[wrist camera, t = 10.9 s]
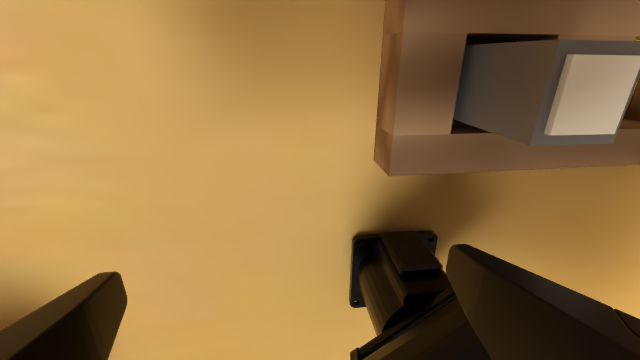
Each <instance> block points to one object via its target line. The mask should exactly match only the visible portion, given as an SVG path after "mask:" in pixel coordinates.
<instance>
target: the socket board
mask: <svg viewBox="0 0 640 360" xmlns="http://www.w3.org/2000/svg"><path fill="white" fill-rule="evenodd" d="M467 37H503V38H517V41H516V42H525V41H542V40H558V39H563V40H603V41H635V40H640V0H386V2H385V15H384V29H383V42H382V56H381V69H380V82H379V96H378V109H377V122H376V136H375V149H374V161H375V162H376V163H377V164H378V165H379V166H380V167H381V168H382V169H383V170H384V171H385V173H386V174H387V175H388V176H404V175H425V174H447V173H468V172H489V171H511V170H532V169H553V168H575V167H596V166H617V165H638V164H640V80H639V82H638V85H637V88H636V90H635V93H634V96H633V98H632V101H631V103H630V106H629V109H628V111H627V114H626V117H625V119H622V122H621V124H620V127H619V130H618V132H617V135H616V137H615V140H614V143H613V144H581V145H544V146H528V145H526V144H523V143H520V142H517V141H514V140H511V139H508V138H506V137H503V136H500V135H497V134H494V133H491V132H488V131H485V130H483V129H480V128H477V127H474V126H471V125H468V124H465V123H452V121H453V115H454V109H455V103H456V97H457V91H458V86H459V80H460V74H461V68H462V62H463V56H464V50H465V44H466V38H467Z"/></svg>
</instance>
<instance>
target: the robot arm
mask: <svg viewBox="0 0 640 360" xmlns="http://www.w3.org/2000/svg"><path fill="white" fill-rule="evenodd" d="M431 236H432V237H431ZM429 237H431V238H430V239H428V238H429ZM358 242H362V243H361V244H359V245H358V244H357V243H358ZM436 244H437V235H436V234H435V233H434V232H433V231H418V232H415V231H405V232H391V233H383V234H376V235H363V236H356V237H355V238H354V239H353V241H352V254H351V273H350V292H349V302H350V305H351V307H353V308H359V307H367V310H368V313H369V315H370V318H371V321H372V324H373V326H374V329H375V332H376V335H377V337H375V338H374V339H372V340H371V341H369V342H368V343H366V344H365V345H363V346H362V347H360V348H356V349H354V350H353V351H352V352H350V360H640V319H638V318H636V317H633V316H631V315H629V314H626V313H624V312H622V311H620V310H617V309H613V308H612V307H610V306H608V305H606V304H603V303H601V302H599V301H596V300H594V299H592V298H589V297H587V296H585V295H583V294H580V293H578V292H576V291H573V290H571V289H569V288H566V287H564V286H562V285H559V284H557V283H555V282H553V281H550V280H548V279H546V278H543V277H541V276H539V275H536V274H534V273H532V272H529V271H527V270H525V269H523V268H520V267H518V266H516V265H513V264H511V263H509V262H506V261H504V260H502V259H500V258H497V257H495V256H493V255H490V254H488V253H486V252H483V251H481V250H479V249H476V248H474V247H472V246H470V245H467V244H457V245H452V246H451V247H450V250H449V255H448V260H447V265H446V273H445V271H444V270H443V269H442V268H443V266H442V264H441V263H440V261H439V260H438V259H437V258H436V257H435V250H436ZM356 300H357V301H356ZM354 301H356V302H354ZM126 306H127V295H126V291H125V288H124V284H123V281H122V278H121V275H120V274H119V273H118V272H103V273H99V274H97V275H95V276H93V277H92V278H90V279H88V280H87V281H85V282H83V283H81V284H80V285H78V286H76V287H75V288H73V289H71V290H69V291H68V292H66V293H64V294H63V295H61V296H59V297H57V298H56V299H54V300H52V301H51V302H49V303H47V304H45V305H44V306H42V307H40V308H39V309H37V310H35V311H33V312H32V313H30V314H28V315H27V316H25V317H23V318H22V319H20V320H18V321H16V322H15V323H13V324H11V325H10V326H8V327H6V328H4V329H3V330H1V331H0V360H108V357H109V355H110V352H111V349H112V346H113V343H114V340H115V338H116V335H117V332H118V329H119V326H120V323H121V321H122V318H123V315H124V312H125V309H126Z"/></svg>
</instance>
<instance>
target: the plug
mask: <svg viewBox="0 0 640 360" xmlns="http://www.w3.org/2000/svg"><path fill="white" fill-rule="evenodd" d="M639 75H640V41H603V40H563V39H558V40H542V41H525V42H509V43H493V44H477V45H465V50H464V56H463V62H462V68H461V74H460V80H459V86H458V91H457V97H456V103H455V109H454V115H453V119H454V120H457V121H460V122H463V123H465V124H468V125H471V126H474V127H477V128H480V129H483V130H485V131H488V132H491V133H494V134H497V135H500V136H503V137H506V138H508V139H511V140H514V141H517V142H520V143H523V144H526V145H528V146H544V145H581V144H613V143H614V140H615V137H616V135H617V132H618V130H619V127H620V124H621V122H622V119H623V117H624V114H625V111H626V109H627V106H628V104H629V101H630V98H631V96H632V93H633V91H634V88H635V85H636V83H637V80H638V77H639Z"/></svg>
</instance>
